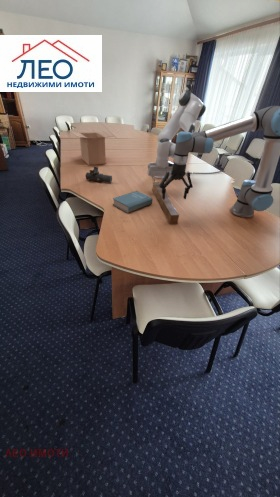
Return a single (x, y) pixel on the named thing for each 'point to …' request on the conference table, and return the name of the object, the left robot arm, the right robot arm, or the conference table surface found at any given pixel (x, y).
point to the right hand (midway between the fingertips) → (174, 198)
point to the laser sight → (98, 176)
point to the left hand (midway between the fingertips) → (159, 181)
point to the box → (92, 146)
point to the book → (132, 201)
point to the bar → (165, 204)
